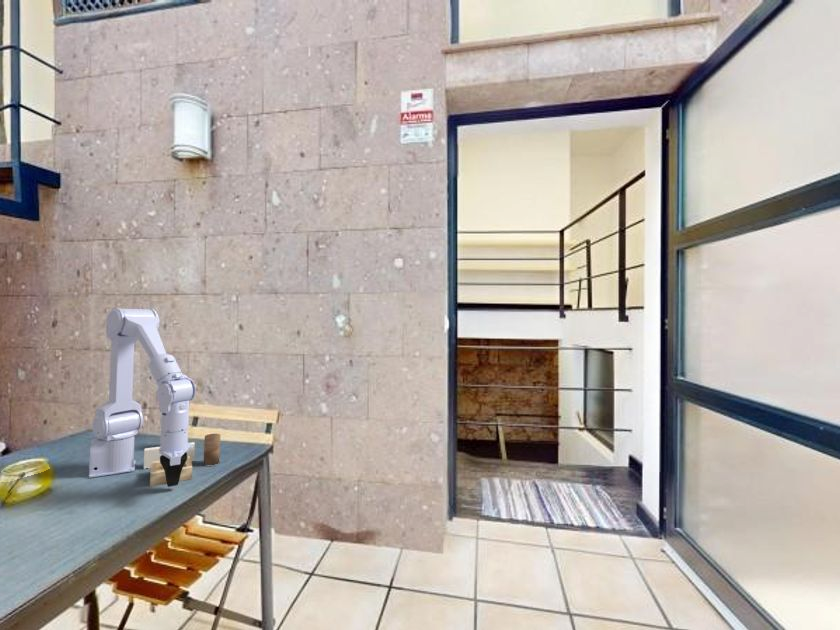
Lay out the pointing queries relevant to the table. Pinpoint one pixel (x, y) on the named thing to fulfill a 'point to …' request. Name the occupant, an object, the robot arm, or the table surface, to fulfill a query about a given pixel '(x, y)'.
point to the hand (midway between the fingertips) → (172, 485)
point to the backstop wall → (154, 454)
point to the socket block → (159, 474)
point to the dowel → (212, 449)
